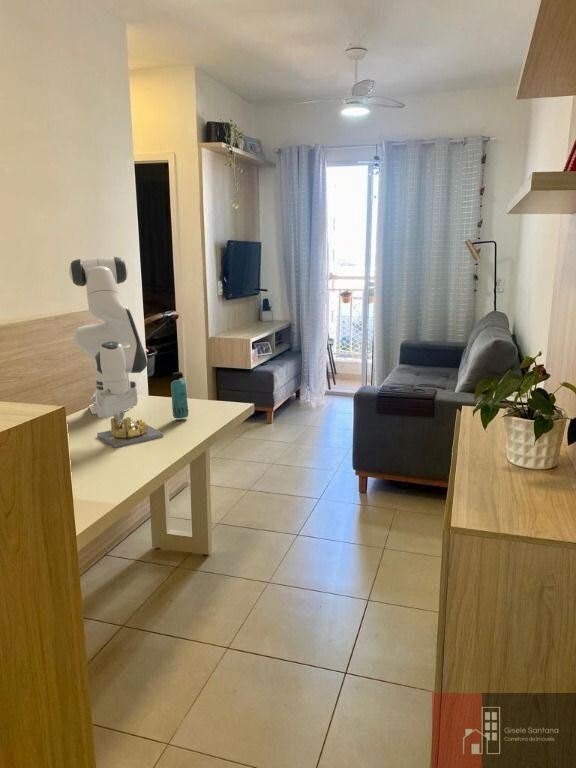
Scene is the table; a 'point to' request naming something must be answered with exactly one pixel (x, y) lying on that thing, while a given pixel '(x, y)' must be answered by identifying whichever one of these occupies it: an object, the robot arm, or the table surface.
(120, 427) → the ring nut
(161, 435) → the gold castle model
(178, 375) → the beverage bottle
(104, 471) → the table surface
